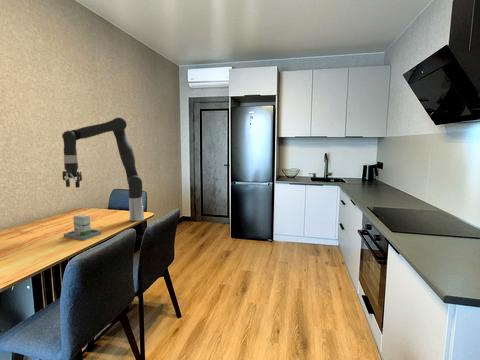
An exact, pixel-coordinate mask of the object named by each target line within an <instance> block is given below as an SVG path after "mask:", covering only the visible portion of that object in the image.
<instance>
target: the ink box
mask: <svg viewBox="0 0 480 360" xmlns="http://www.w3.org/2000/svg"><path fill="white" fill-rule="evenodd" d="M90 217H91V216H90V215H85V214H78V215H73V219H72V220H73V231H74V234H75V235H80V236H87V235H89V234H91V229H92V227H91V218H90Z"/></svg>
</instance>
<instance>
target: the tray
mask: <svg viewBox="0 0 480 360" xmlns="http://www.w3.org/2000/svg"><path fill="white" fill-rule="evenodd" d="M102 232H103V231H102V230H99V229H92V228H91V234H89V235H87V236H80V235H75V234H74V230H71V231H68V232H66V233H63V238H67V239H68V238H69V239H74V240H79V241H86V240H88V239H91V238H93V237H94V238H95V237H97V236H100V235H102V234H103V233H102Z"/></svg>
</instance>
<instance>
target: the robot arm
mask: <svg viewBox="0 0 480 360" xmlns="http://www.w3.org/2000/svg"><path fill="white" fill-rule="evenodd" d="M127 125H128V124H127V120H126V119H124V118H123V117H115V118H114V119H111V120H109V121H106V122H103V123H98V124H92V125H88V126H83V127H80V128H76V129H72V130H71V129H70V130H66V131H64V132H63V133H62V136H61V137H62V140H63V165H64V168H63V169H64V170H63V171H62V174H61V175H62V181H65V187H66V188H70V186H71V179H73V180H74V181H75V188H77V189H78V188H80V187H81V184H80V182H81V181H83V176H82V171H78V170H79V160H78V153H77V141H79V140H83V139H89V138H93V137H96V136H99V135H102V134H104V133H109V132H112V133H113V135H114V138H115V141H116V145H117V149H118V150H117V151H118V155H119V157H120V159H121V163H122V166H123V167H124V170H125V174H126V175H125V176H126V180H127V181H126V182H127V184H128V206H129V207H128V211H129V213H128V214H129V221H130V222H140V221H143V220H144V219H145V215H144V210H145V209H144V205H143V180H142V179H141V177H139V174H138V172H137V169H136V159H135V154H134V151H133V147H132V146H131V143H130V141H129V140H128V138H127V134H126V128H127Z"/></svg>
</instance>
